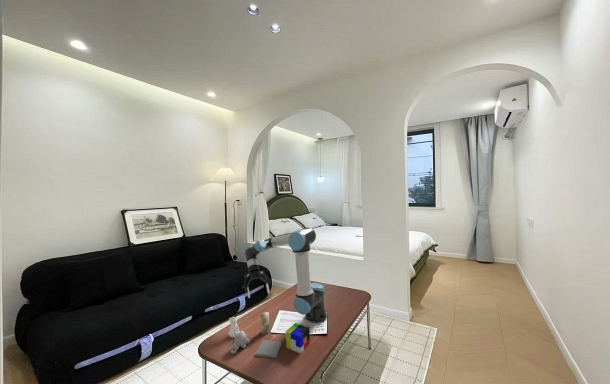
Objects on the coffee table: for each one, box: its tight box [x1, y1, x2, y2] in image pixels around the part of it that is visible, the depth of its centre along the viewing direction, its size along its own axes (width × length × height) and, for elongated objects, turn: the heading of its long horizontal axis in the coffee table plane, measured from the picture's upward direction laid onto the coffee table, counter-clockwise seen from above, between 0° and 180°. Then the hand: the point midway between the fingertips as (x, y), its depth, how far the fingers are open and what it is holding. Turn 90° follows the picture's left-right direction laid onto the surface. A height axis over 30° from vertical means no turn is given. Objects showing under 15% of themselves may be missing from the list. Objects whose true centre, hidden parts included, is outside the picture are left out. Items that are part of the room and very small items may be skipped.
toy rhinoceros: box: [230, 331, 251, 355], centre depth 152 cm, size 7×12×8 cm, turn 145°
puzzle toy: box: [285, 322, 311, 354], centre depth 153 cm, size 10×10×10 cm
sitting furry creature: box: [228, 316, 244, 339], centre depth 165 cm, size 10×9×12 cm
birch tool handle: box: [260, 311, 270, 335], centre depth 168 cm, size 5×5×12 cm
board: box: [254, 339, 283, 359], centre depth 151 cm, size 12×12×1 cm
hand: (259, 295), depth 176 cm, fingers open, 13 cm apart
